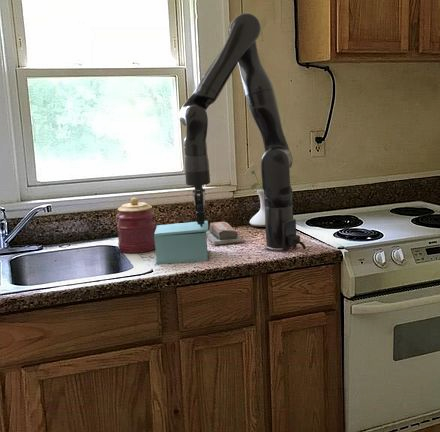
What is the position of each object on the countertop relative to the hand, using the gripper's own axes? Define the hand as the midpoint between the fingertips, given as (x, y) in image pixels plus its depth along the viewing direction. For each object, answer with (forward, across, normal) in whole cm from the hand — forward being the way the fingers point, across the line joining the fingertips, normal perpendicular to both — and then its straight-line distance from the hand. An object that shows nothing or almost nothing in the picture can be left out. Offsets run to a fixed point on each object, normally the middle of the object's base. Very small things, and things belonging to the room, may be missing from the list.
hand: (201, 222), depth 203 cm
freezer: (+11, 0, +7) cm, 13 cm away
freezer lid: (+2, 0, +6) cm, 6 cm away
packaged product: (+11, +22, -7) cm, 26 cm away
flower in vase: (+11, +39, -22) cm, 46 cm away
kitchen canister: (+11, +16, +22) cm, 29 cm away
